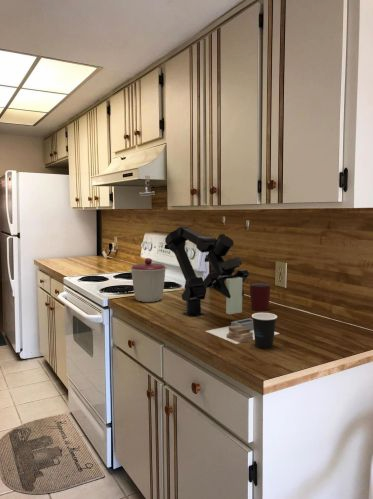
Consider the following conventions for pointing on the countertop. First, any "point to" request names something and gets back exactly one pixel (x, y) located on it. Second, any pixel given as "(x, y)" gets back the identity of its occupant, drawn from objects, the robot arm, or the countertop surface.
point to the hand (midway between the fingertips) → (236, 296)
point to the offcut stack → (240, 334)
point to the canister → (148, 281)
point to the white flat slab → (225, 330)
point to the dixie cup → (264, 329)
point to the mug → (260, 296)
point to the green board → (234, 295)
